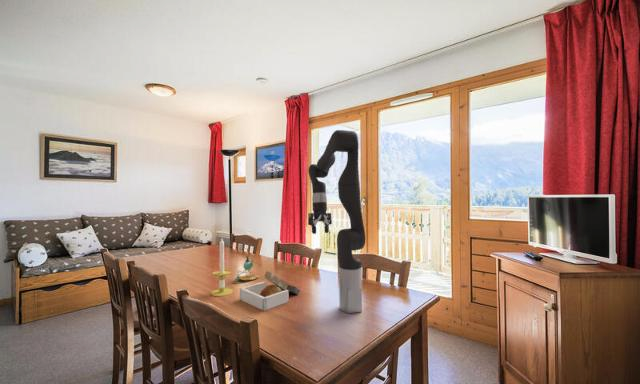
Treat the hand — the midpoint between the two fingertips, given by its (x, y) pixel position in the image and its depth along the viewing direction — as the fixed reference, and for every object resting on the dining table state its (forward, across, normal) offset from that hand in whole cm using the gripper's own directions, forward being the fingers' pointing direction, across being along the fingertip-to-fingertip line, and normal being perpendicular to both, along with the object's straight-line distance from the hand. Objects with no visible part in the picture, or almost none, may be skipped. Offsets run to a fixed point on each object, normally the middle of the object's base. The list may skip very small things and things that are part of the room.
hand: (320, 233), depth 144 cm
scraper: (+27, -15, +7) cm, 31 cm away
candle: (+27, -40, +28) cm, 56 cm away
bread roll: (+29, -27, +6) cm, 40 cm away
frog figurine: (+25, -22, +40) cm, 52 cm away
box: (+28, -30, +6) cm, 41 cm away
